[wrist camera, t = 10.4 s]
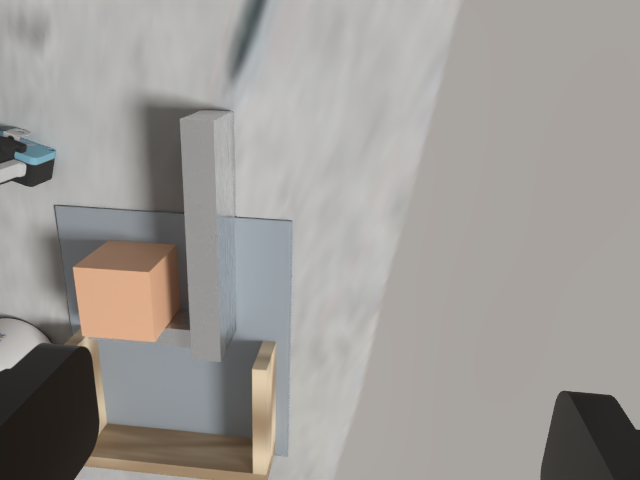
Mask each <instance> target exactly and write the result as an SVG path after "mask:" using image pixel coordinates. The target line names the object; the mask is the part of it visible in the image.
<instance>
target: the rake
mask: <svg viewBox="0 0 640 480" xmlns="http://www.w3.org/2000/svg"><path fill="white" fill-rule="evenodd" d="M180 135H181V155H182V175H183V195H184V215H185V235H186V255H187V275H188V295H189V309H181V308H180V309H179V310H178V312H177V313H176V314H175V316H174V317H173V318H172V320H171V321H170V322H169V324H168V325H167V326H166V328H165V329H164V331H163V332H162V333H161V335H160V336H159V337H158V339H157V340H156V341H155V342H147V341H135V340H122V339H110V338H97V337H88V339H95V340H106V341H118V342H129V343H140V344H152V345H163V346H175V347H186V348H191V356H192V360H204V361H215V362H221V360H222V358H223V356H224V354H225V352H226V350H227V348H228V346H229V344H230V342H231V340H232V338H233V336H234V334H235V332H236V330H237V322H236V264H235V205H234V147H233V111H218V110H201V111H198V112H196V113H193V114H191V115H188V116H186V117H184V118H181V119H180Z"/></svg>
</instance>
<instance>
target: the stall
mask: <svg viewBox="0 0 640 480" xmlns="http://www.w3.org/2000/svg"><path fill="white" fill-rule="evenodd" d="M64 345H75V346H84V347H87V348H88V349H89V351H90V353H91V356H92V361H93V369H94V377H95V386H96V394H97V402H98V410H99V420H100V424H99V433H98V438H97V442H96V445H95V447H94V450H93V452H92V454H91V456H90V457H89V459H88V460H87V462H86V463H85V465H84V466H87V467H97V468H106V469H115V470H125V471H134V472H143V473H152V474H162V475H171V476H180V477H190V478H199V479H208V480H268V477H269V473H270V469H271V465H272V461H273V457H274V453H275V424H276V342H272V341H263V342H262V345H261V347H260V350H259V353H258V355H257V358H256V360H255V363H254V365H253V368H252V428H253V438H249V437H239V436H229V435H219V434H209V433H199V432H189V431H179V430H169V429H159V428H149V427H139V426H129V425H119V424H109V423H107V418H106V409H105V401H104V392H103V383H102V375H101V366H100V358H99V349H98V341H97V340H95V339H88V337H85V336H82V331H81V328H80V329H79V330H78V331H77V332H76V333H75V334H74V335H73V336H72V337H71V338H70V339H69V340H68V341H67V342H66V343H65V344H64Z"/></svg>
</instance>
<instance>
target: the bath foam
mask: <svg viewBox="0 0 640 480" xmlns="http://www.w3.org/2000/svg"><path fill="white" fill-rule="evenodd" d="M40 343H51V342H50V341H49V339H48V338H47V337H46V336H45V335H44V334H43V333H42V332H41V331H40V330H38V329H37V328H36V327H34V326H32V325H30V324H28V323H26V322H24V321H21V320H17V319H9V318H4V319H0V371H2V370H4V369H11V368H12V367H13V366H14V365H15V364H16V363H18V362H19V361H20V360H21V359H22V358H23V357H24V356H25V355H26V354H28V353H29V352H30V351H31V350H32V349H33V348H34V347H36V346H37V345H38V344H40Z"/></svg>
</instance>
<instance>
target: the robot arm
mask: <svg viewBox="0 0 640 480" xmlns="http://www.w3.org/2000/svg"><path fill="white" fill-rule="evenodd" d="M99 424H100V420H99V410H98V402H97V394H96V386H95V377H94V369H93V361H92V356H91V353H90V351H89V349H88V348H87V347H84V346H75V345H64V344H52V343H40V344H38V345H37V346H36V347H34V348H33V349H32V350H31V351H30V352H29V353H28V354H26V355H25V356H24V357H23V358H22V359H21V360H20V361H19V362H18V363H16V364H15V365H14V366H13V367H12V368H11V369H4V370H2V371H0V480H74V479H75V478H76V476H77V475H78V473H79V472H80V470H81V469H82V468H83V466H84V465H85V463H86V462H87V460H88V459H89V457H90V456H91V454H92V452H93V450H94V447H95V445H96V442H97V438H98V433H99ZM541 480H640V430H636V429H635V428H634V426H633V425H632V423H631V422H630V420H629V418H628V417H627V415H626V414H625V412H624V411H623V409H622V408H621V406H620V404H619V403H618V401H617V400H616V399H615V398H614V397H613V396H611V395H604V394H593V393H582V392H570V391H562V392H560V393H559V395H558V397H557V399H556V402H555V406H554V411H553V415H552V420H551V425H550V429H549V434H548V438H547V443H546V448H545V452H544V457H543V461H542V466H541Z"/></svg>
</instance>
